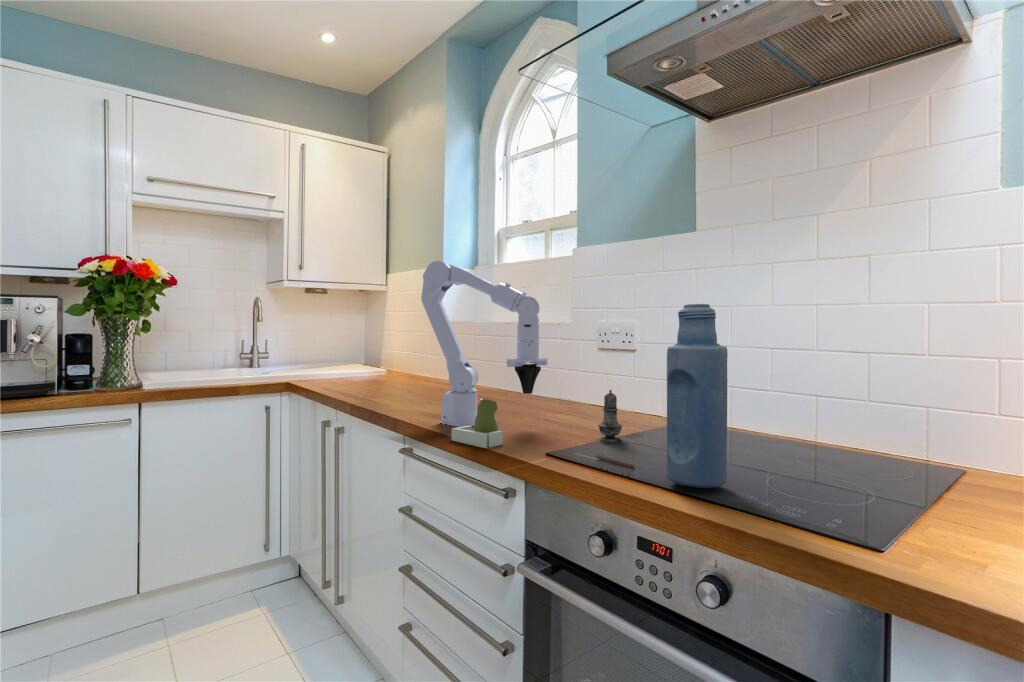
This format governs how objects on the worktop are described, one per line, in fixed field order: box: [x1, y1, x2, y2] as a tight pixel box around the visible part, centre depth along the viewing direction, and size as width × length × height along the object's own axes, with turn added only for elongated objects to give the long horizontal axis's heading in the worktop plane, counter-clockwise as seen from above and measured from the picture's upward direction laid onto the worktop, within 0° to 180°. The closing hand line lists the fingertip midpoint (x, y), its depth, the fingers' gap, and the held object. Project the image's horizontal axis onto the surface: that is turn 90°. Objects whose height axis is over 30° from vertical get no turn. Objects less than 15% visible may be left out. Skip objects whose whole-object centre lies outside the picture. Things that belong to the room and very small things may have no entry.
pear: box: [473, 398, 499, 433], centre depth 124 cm, size 6×5×10 cm
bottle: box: [666, 303, 729, 489], centre depth 91 cm, size 10×10×30 cm
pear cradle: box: [451, 426, 504, 449], centre depth 122 cm, size 11×6×3 cm, turn 49°
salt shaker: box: [597, 389, 623, 443], centre depth 127 cm, size 6×6×12 cm
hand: (527, 393), depth 141 cm, fingers closed
